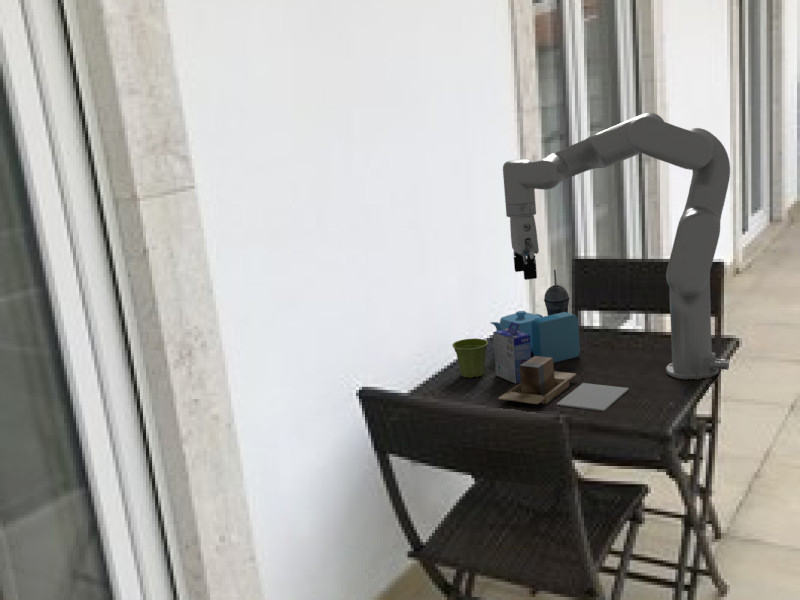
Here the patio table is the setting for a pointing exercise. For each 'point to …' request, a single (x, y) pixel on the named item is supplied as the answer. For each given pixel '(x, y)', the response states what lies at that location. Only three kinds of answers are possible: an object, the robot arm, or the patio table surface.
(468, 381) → the patio table surface
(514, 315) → the teapot
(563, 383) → the tan flat frame
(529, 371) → the walnut box
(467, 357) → the plant pot
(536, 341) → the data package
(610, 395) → the mat
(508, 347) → the ink cartridge box
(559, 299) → the beverage cup
